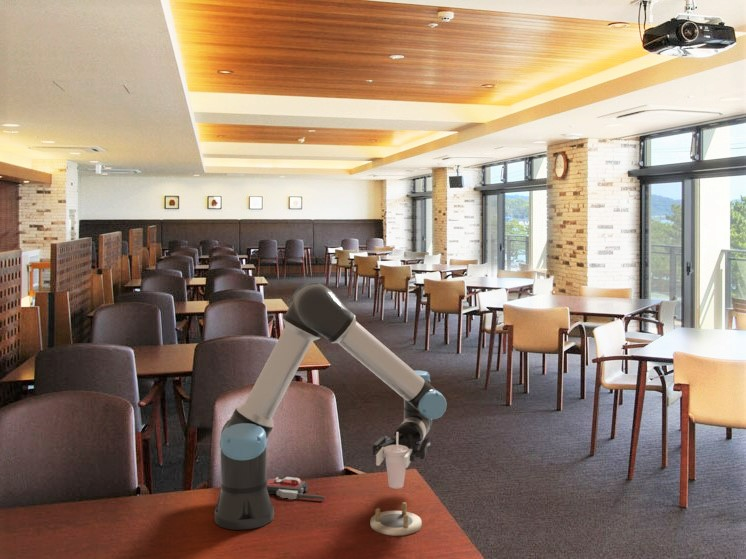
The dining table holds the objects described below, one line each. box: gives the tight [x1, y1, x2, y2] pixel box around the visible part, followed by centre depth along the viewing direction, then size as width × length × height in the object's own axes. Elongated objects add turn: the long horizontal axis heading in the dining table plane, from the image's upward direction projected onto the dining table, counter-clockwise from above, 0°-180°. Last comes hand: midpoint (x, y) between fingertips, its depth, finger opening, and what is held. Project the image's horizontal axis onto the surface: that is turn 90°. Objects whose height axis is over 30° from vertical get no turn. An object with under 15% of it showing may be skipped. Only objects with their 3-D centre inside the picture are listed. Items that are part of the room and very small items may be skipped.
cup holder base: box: [369, 502, 423, 537], centre depth 181 cm, size 13×13×4 cm
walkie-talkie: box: [267, 476, 325, 500], centre depth 202 cm, size 9×4×20 cm
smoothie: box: [384, 431, 409, 489], centre depth 180 cm, size 6×6×14 cm
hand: (391, 461), depth 175 cm, fingers closed on smoothie, 6 cm apart
